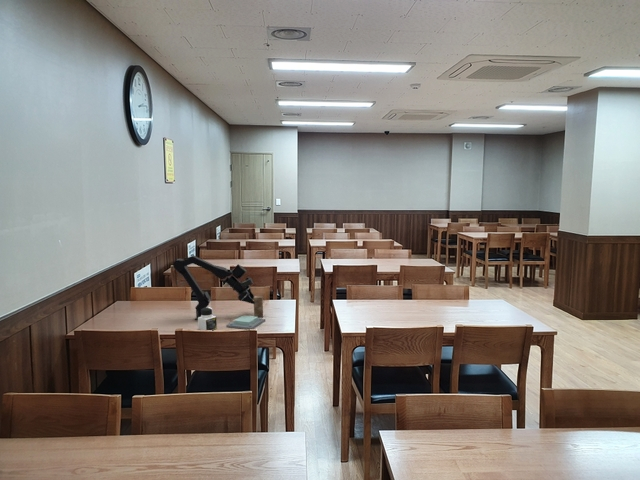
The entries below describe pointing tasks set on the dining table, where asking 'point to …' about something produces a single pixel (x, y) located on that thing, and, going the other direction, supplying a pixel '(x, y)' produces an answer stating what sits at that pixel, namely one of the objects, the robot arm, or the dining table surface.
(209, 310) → the medicine bottle
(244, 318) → the base plate
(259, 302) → the walnut pillar
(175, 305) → the dining table surface
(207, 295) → the robot arm
